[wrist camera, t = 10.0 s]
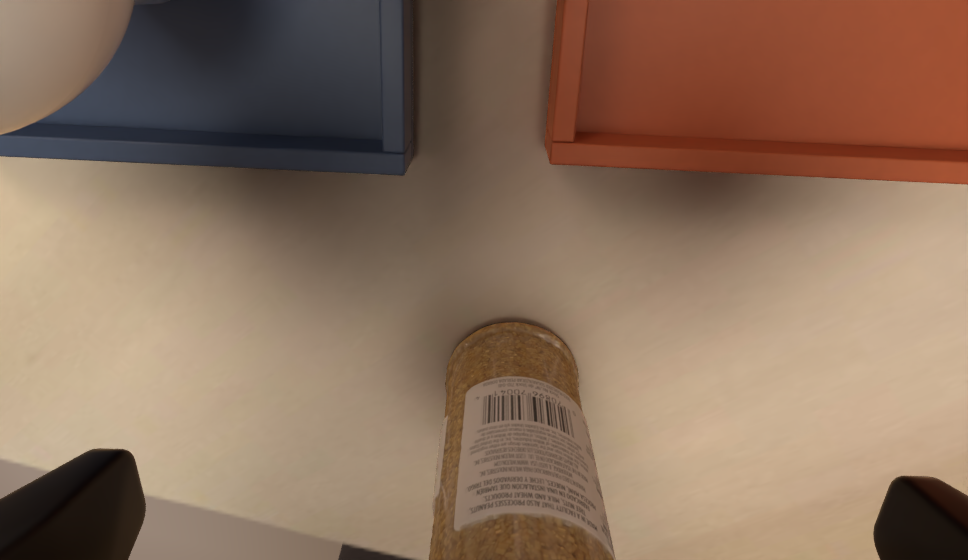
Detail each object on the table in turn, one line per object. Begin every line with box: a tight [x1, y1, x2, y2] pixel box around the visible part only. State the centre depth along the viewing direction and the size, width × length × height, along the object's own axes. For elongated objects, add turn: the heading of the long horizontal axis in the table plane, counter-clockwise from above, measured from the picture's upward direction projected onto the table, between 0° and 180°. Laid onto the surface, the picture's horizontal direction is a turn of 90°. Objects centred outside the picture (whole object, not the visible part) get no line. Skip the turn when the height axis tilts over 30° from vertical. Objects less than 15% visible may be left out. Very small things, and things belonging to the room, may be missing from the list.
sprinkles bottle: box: [429, 322, 616, 560], centre depth 16 cm, size 5×5×13 cm
